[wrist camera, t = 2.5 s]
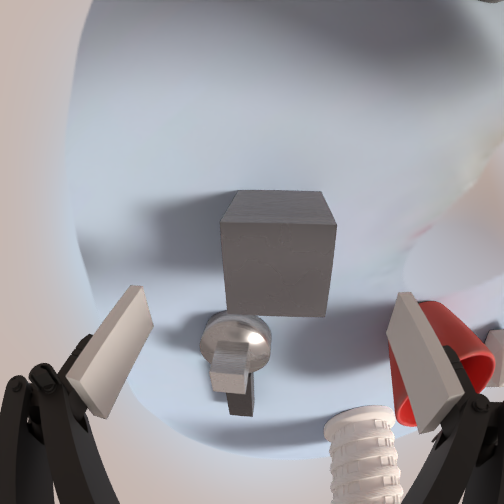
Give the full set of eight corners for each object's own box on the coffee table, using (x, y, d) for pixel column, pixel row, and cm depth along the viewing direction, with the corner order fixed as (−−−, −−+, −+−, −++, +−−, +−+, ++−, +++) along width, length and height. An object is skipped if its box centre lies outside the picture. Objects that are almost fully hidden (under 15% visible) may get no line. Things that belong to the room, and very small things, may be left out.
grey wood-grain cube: (238, 190, 22) (219, 222, 15) (321, 191, 21) (336, 224, 15) (241, 262, 25) (227, 313, 18) (315, 264, 24) (324, 317, 18)
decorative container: (323, 441, 39) (323, 532, 23) (323, 411, 34) (326, 526, 18) (387, 431, 37) (398, 518, 21) (400, 398, 32) (422, 506, 16)
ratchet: (201, 307, 27) (182, 353, 22) (272, 311, 27) (268, 361, 21) (218, 399, 35) (209, 437, 29) (269, 403, 34) (265, 443, 28)
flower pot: (472, 290, 23) (515, 349, 15) (432, 360, 28) (456, 420, 20) (397, 281, 24) (436, 356, 15) (361, 360, 29) (376, 432, 20)
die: (456, 355, 29) (480, 408, 23) (492, 334, 22) (519, 398, 16) (487, 327, 30) (510, 376, 24) (520, 302, 23) (546, 359, 17)
